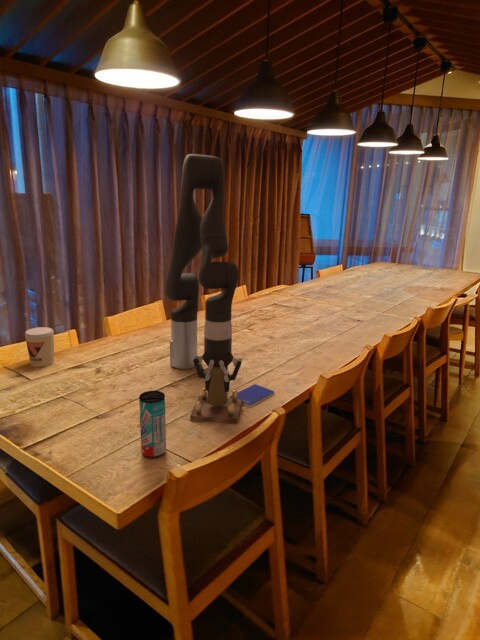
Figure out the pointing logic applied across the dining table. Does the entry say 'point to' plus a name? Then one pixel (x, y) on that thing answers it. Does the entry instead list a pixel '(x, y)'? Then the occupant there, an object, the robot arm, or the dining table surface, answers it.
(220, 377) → the cork
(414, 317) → the dining table surface
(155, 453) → the beverage can
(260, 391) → the hard drive
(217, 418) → the walnut stand
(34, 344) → the coffee cup
